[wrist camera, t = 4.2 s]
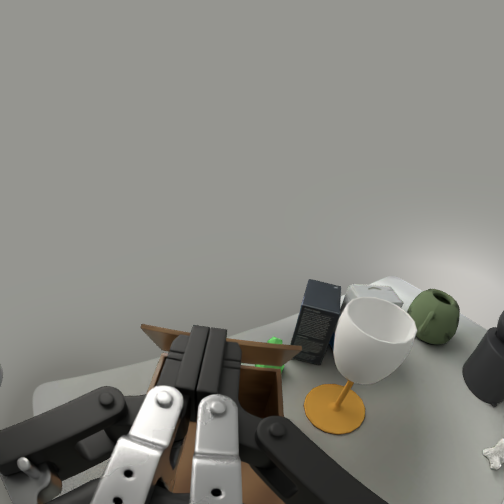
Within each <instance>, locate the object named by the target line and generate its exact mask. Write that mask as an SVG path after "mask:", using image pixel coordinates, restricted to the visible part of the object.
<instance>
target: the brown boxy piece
mask: <svg viewBox="0 0 504 504" xmlns="http://www.w3.org/2000/svg"><path fill="white" fill-rule="evenodd" d="M167 355H168V354H167V353H162V354H161V357H160V359H159V362H158V364H157V367H156V370H155V372H154V375H153V377H152V380H151V383H150V385H149V388H148V391H147V393H148V392H149V391H150V390H151V389H152V388H154V387H156V385H157V383H158V380H159V377H160V375H161V372H162V369H163V366H164V364H165V361H166V359H167ZM238 400H239V403H240V405H241V407H242V408H243V409H244V410H245V411H246V412H248V413H249V414H251V415H254V416H257V417H259V418H262V419H264V418H266V417H269V416H282V417H284V413H283V396H282V380H281V369H275V368H264V367H254V366H244V365H241V368H240V380H239V393H238ZM196 427H197V419H196V422H192V421H190V423H189V427H188V432H187V438H186V441H185V444H184V448H183V451H182V454H181V457H180V461H179V464H178V467H177V471H176V477H175V485H174V489H173V493H190V487H191V472H192V460H193V454H194V450H195V438H196ZM241 477H242V503H244V504H285V503H284V502H283V501H282V500H281V499H280V498H279V497H278V496H277V495H276V494H275V493H274V492H273V491H272V490H271V489H270V488H269V487H268V486H267V485H266V484H265V483H264V481H263V480H262V479H261V478H260V477H259V476H258V475H257V474H256V473H255V472H254V471H253V469H252V468H251V467H250V466H249V464H248V463H245V462H242V461H241Z"/></svg>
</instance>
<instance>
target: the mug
mask: <svg viewBox="0 0 504 504" xmlns="http://www.w3.org/2000/svg"><path fill="white" fill-rule="evenodd" d="M459 310H460V309H459V306H458V304H457V302H456V301H455V300H454V299H453V298H452V297H451V296H450V295H448V294H446V293H445V292H442V291H440V290H436V289H428V290H426V291H423V292H421V293H420V294H419V295H418V296H417V297H416V298H415V299H414V300H413V302H412V303H411V305H410V307H409V309H408V311H407V313H408V314H409V315H410V316H411V318H412V319H413V320H414V321H415V325H416V328H417V333H416V336H417V337H418V338H419V339H421V340H423V341H425V342H427V343H430V344H435V345H437V344H444V343H447V342H448V341H449V340H450V339H451V338H452V337H453V335H454V334H455V333H456V330H457V327H458V323H459V313H460V311H459Z"/></svg>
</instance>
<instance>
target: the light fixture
mask: <svg viewBox="0 0 504 504" xmlns="http://www.w3.org/2000/svg"><path fill="white" fill-rule="evenodd" d="M463 377H464V380H465V382H466V384H467V386H468V387H469V389H470V390H471V391H472V392H473V393H474V394H475V395H476V396H477V397H478V398H479V399H481V400H483V401H485V402H487V403H491V404H492V406H494V407H496V406H497V404H498V403H500V402H502V401H503V400H504V311H503V312H502V314H501V316H500V318H499V321H498V325H497V328H496V327H493V328H490V329H489V330H488V331H487V332H486V334H485V336H484V337H483V339H482V340H481V341H480V343H479V344H478V346H477V347H476V349H475V350H474V352H473V353H472V354H471V356H470V357H469V358H468V360H467V361H466V362H465V364H464V366H463Z"/></svg>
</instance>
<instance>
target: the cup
mask: <svg viewBox="0 0 504 504" xmlns="http://www.w3.org/2000/svg"><path fill="white" fill-rule="evenodd" d="M416 333H417V328H416V325H415V321H414V320H413V319H412V318H411V316H410V315H409V314H408V313H407V312H406V311H404V310H403V309H402V308H400V307H399V306H398V305H395V304H393V303H391V302H389V301H387V300H384V299H380V298H376V297H359V298H356V299H352V300H351V301H350V302H349V303H348V304H347V305H346V307H345V309H344V311H343V312H342V314H341V316H340V318H339V321H338V325H337V328H336V332H335V340H334V351H333V354H334V359H335V364H336V366H337V369H338V371H339V372H340V373H341V374H342V375H343V376H344V377H345V378H346V379H347V380H348V382H347V383H346V385H345V386H341V385H337V384H323V385H320V386H318V387H316V388H313V389H312V390H311V391H310V392H309V393H308V395H307V396H306V399H305V403H304V409H305V413H306V416H307V418H308V419H309V420H310V421H311V423H312V424H313V425H314V426H315V427H317V428H319V429H320V430H322V431H324V432H327V433H332V434H337V435H338V434H345V433H350V432H352V431H353V430H355V429H356V428H358V427H359V426H360V425H361V423H362V421H363V420H364V418H365V407H364V404H363V402H362V399H361V398H360V397H359V396H358V395H357V394H356V393H355V392H354V391H352V390H350V389H351V387H352V385H353V384H354V383H358V384H363V385H367V384H374V383H376V382H378V381H380V380H382V379H383V378H385V377H387V376H388V375H390V374H391V373H392V372H393V371H394V370H395V369H397V368H398V367H399V366H400V365H401V363H402V362H403V361H404V359H405V358H406V357H407V355H408V354H409V352H410V349H411V347H412V344H413V341H414V339H415V336H416Z"/></svg>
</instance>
